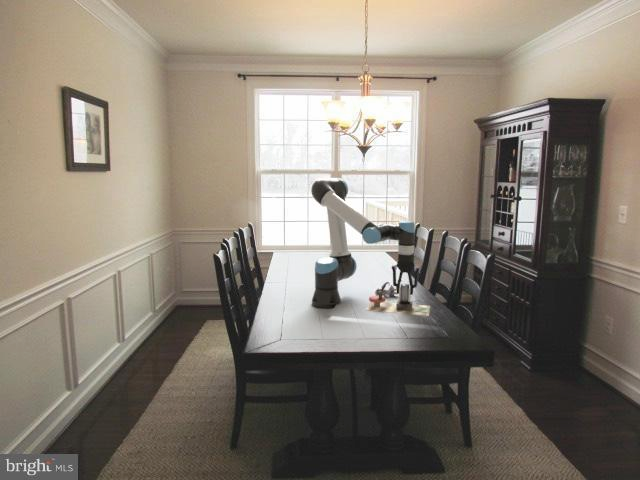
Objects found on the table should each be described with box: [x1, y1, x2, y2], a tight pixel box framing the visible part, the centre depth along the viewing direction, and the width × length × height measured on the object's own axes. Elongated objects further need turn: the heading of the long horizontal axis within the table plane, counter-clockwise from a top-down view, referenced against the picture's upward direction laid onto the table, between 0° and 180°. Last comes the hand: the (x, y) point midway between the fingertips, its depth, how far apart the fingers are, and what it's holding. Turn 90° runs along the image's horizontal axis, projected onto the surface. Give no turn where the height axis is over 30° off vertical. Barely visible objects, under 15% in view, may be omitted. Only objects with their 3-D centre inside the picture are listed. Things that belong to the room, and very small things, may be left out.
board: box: [365, 299, 431, 317], centre depth 223 cm, size 30×16×4 cm, turn 73°
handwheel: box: [368, 291, 386, 307], centre depth 225 cm, size 8×8×8 cm
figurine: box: [374, 279, 403, 297], centre depth 243 cm, size 12×9×15 cm
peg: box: [400, 283, 410, 305], centre depth 221 cm, size 4×4×12 cm
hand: (404, 300), depth 221 cm, fingers closed on peg, 4 cm apart
